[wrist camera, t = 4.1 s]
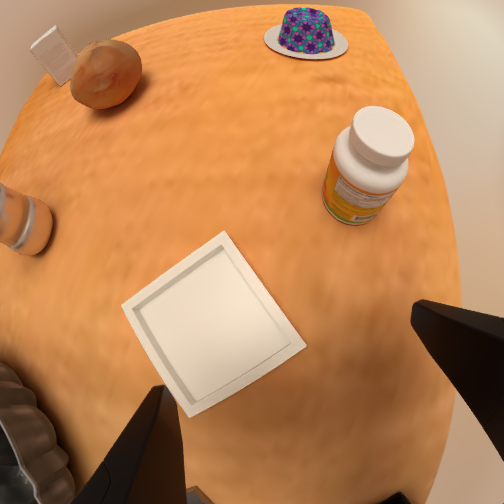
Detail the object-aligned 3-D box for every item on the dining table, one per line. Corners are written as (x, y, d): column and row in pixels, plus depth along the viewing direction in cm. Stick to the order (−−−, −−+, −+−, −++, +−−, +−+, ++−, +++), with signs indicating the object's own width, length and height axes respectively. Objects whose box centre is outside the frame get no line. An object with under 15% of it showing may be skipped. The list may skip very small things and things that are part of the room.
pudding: (352, 68, 27) (358, 38, 22) (260, 61, 29) (256, 29, 24) (342, 29, 30) (345, 4, 25) (267, 24, 32) (265, -2, 27)
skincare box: (83, 61, 35) (57, 23, 24) (84, 68, 34) (56, 27, 23) (59, 80, 35) (31, 44, 24) (59, 88, 34) (29, 50, 23)
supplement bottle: (339, 161, 24) (362, 86, 14) (388, 193, 22) (433, 129, 13) (309, 203, 23) (324, 131, 14) (361, 238, 22) (409, 184, 12)
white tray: (304, 343, 20) (307, 345, 18) (196, 411, 19) (189, 418, 18) (228, 237, 23) (224, 230, 21) (131, 306, 22) (120, 305, 20)
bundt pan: (100, 403, 20) (27, 426, 11) (105, 541, 14) (70, 572, 5) (-16, 318, 24) (-64, 309, 14) (-8, 450, 18) (-44, 457, 9)
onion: (81, 113, 30) (46, 72, 20) (128, 69, 31) (103, 24, 22) (110, 132, 28) (69, 80, 18) (165, 80, 29) (139, 24, 20)
